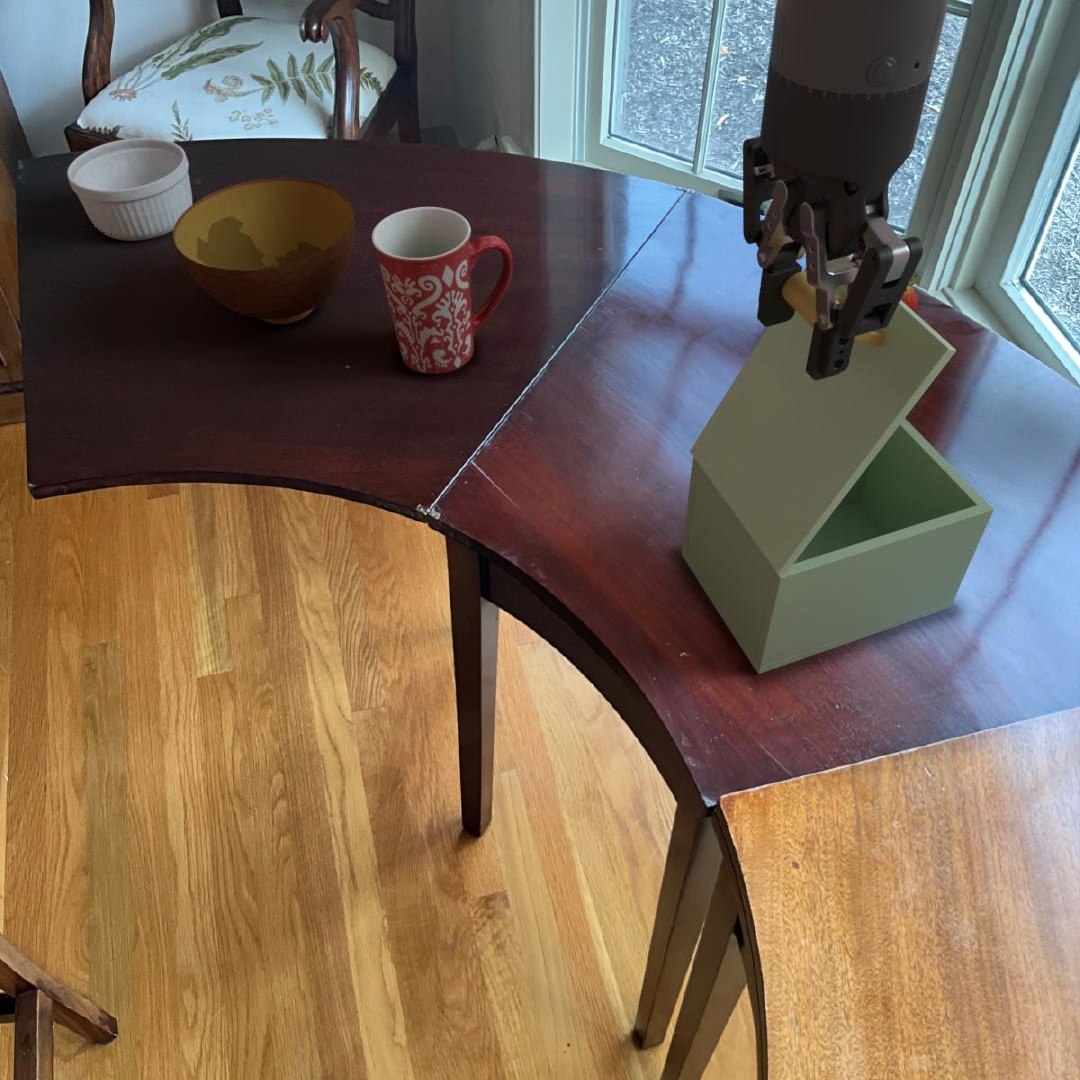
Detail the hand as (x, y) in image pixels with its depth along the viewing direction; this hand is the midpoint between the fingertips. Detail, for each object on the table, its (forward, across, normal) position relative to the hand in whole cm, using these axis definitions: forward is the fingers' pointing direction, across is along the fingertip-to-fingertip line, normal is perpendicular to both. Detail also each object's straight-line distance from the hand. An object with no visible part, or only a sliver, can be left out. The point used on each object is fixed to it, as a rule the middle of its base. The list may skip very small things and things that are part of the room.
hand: (798, 345), depth 59 cm
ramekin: (+24, +79, +38) cm, 91 cm away
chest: (+24, 0, -5) cm, 25 cm away
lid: (+5, 0, -2) cm, 6 cm away
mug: (+24, +39, +12) cm, 48 cm away
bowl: (+24, +54, +26) cm, 64 cm away
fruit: (+25, +25, -28) cm, 45 cm away
